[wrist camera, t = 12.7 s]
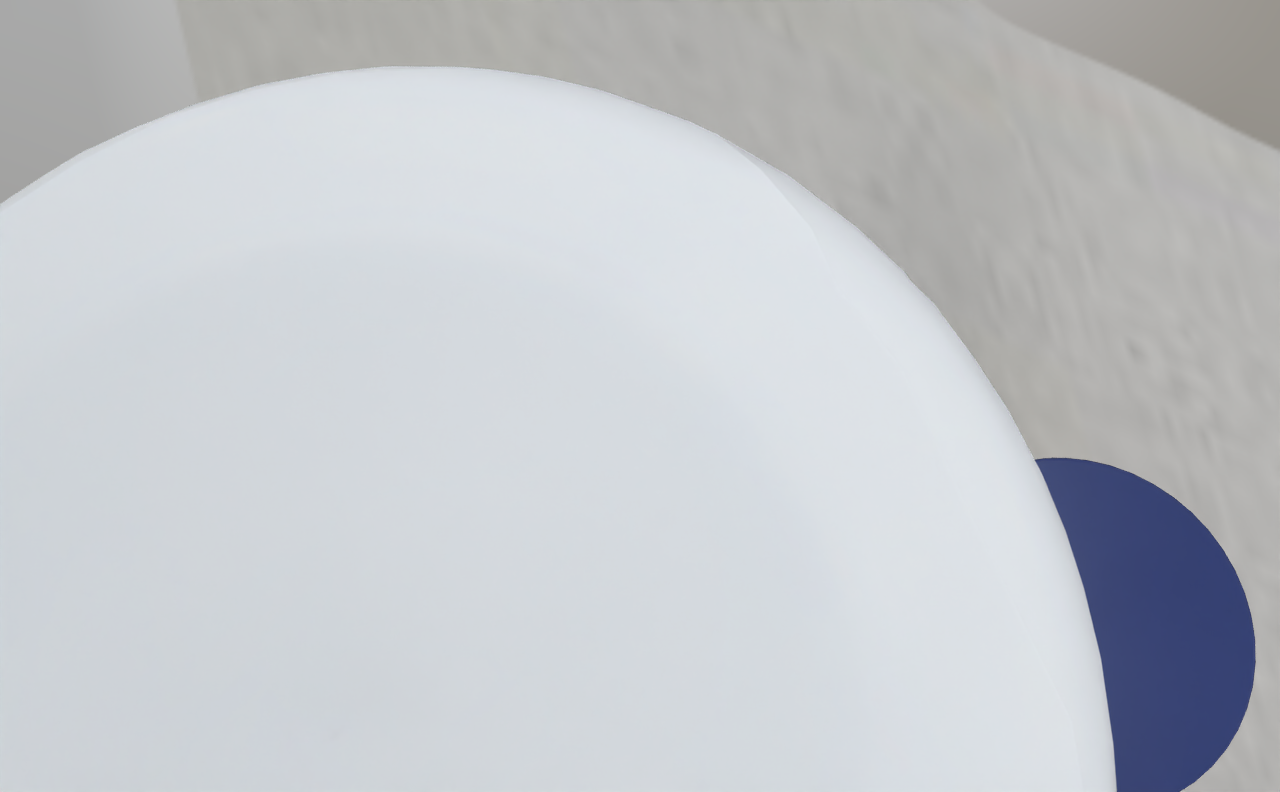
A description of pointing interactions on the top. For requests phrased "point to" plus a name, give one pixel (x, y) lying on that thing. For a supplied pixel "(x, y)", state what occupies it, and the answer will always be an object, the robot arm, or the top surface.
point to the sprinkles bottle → (505, 469)
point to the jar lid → (1157, 622)
